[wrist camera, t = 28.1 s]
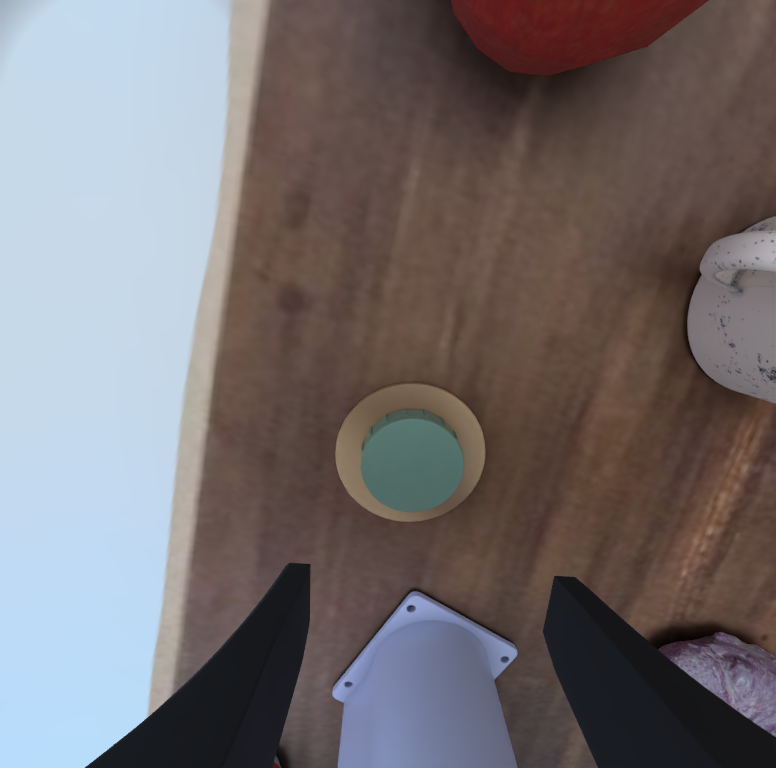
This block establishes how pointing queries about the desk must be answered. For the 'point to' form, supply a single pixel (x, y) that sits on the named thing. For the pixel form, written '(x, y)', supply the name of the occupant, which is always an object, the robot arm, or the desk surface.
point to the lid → (411, 460)
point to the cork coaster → (396, 400)
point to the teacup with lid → (738, 312)
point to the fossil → (731, 673)
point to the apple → (565, 29)
